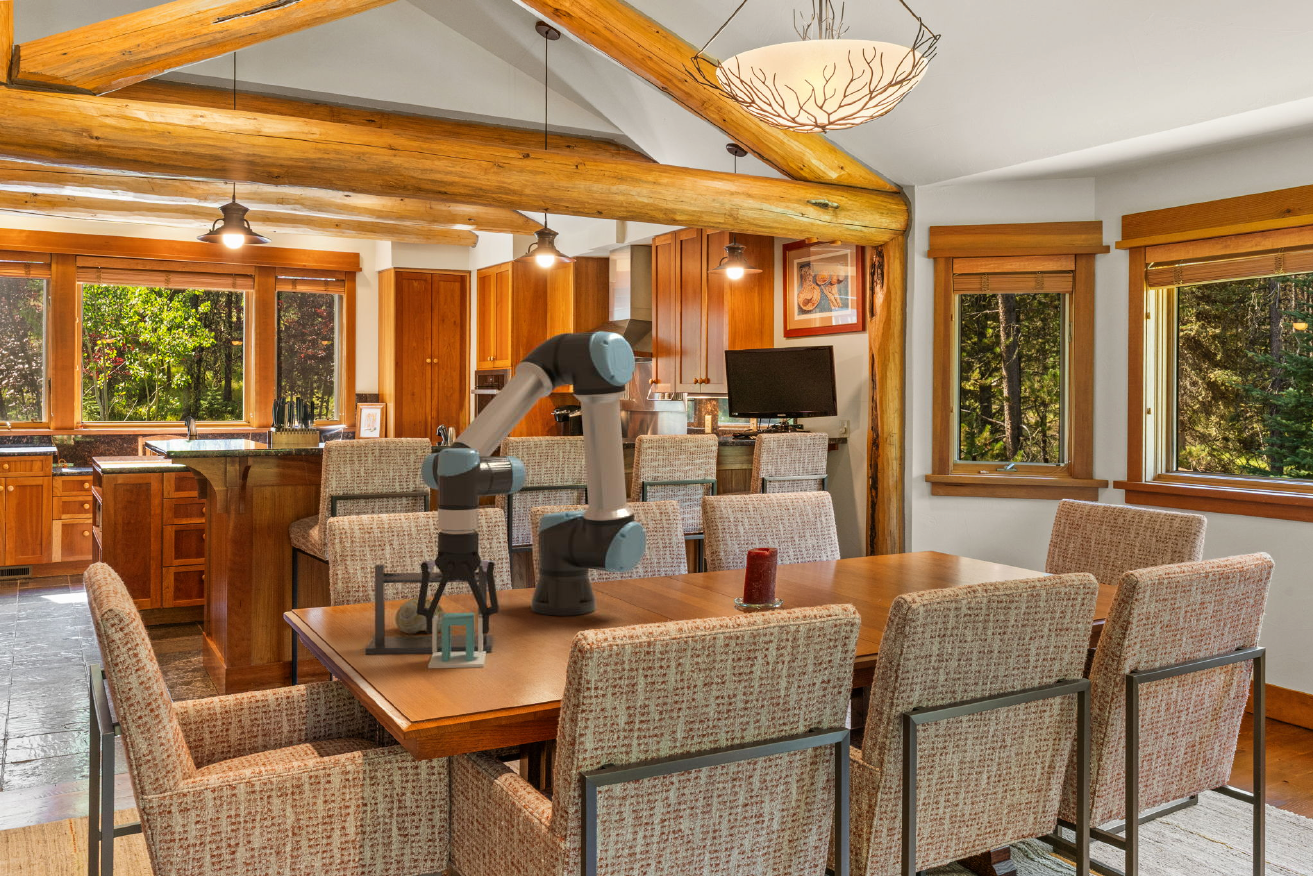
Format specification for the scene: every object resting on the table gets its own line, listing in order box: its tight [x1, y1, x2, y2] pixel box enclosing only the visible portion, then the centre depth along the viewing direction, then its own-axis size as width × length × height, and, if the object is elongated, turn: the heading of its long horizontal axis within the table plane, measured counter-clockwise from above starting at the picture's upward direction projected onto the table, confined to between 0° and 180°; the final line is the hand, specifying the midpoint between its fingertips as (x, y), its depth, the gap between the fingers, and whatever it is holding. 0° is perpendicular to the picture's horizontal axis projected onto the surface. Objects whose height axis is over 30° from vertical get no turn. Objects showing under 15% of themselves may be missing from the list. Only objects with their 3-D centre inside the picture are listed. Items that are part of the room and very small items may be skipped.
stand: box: [364, 563, 495, 656], centre depth 193 cm, size 24×9×17 cm, turn 97°
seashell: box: [394, 597, 445, 635], centre depth 207 cm, size 10×10×10 cm
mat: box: [427, 651, 487, 669], centre depth 184 cm, size 10×9×1 cm
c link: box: [441, 612, 475, 662], centre depth 184 cm, size 5×6×8 cm
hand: (457, 650), depth 184 cm, fingers open, 8 cm apart
